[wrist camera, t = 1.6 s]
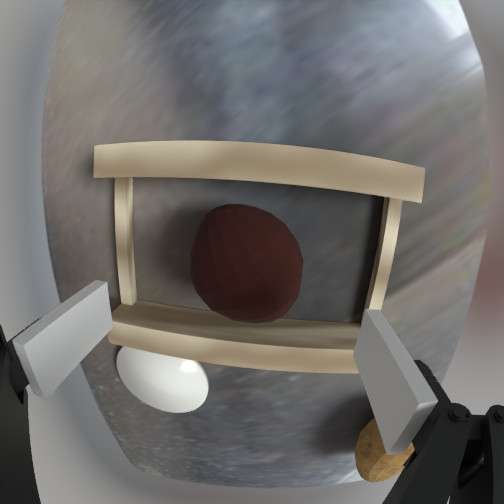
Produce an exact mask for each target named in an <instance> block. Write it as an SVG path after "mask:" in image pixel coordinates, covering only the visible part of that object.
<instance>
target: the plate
mask: <svg viewBox="0 0 504 504" xmlns="http://www.w3.org/2000/svg"><path fill="white" fill-rule="evenodd" d="M117 370H118V373H119V376H120V378H121V380H122V381H123V383H124V384H125V386H126V387H127V388H128V389H129V390H130V392H132V393H133V394H134V395H135V396H136V397H137V398H139V399H140V400H141V401H143V402H144V403H146V404H148V405H150V406H152V407H154V408H157V409H160V410H163V411H167V412H174V413H182V412H189V411H192V410H195V409H196V408H198V407H199V406H201V405H202V404H203V402H204V401H205V399H206V397H207V394H208V390H209V380H208V376H207V374H206V372H205V370H204V368H203V366H202V365H201V364H200V362H199V361H194V360H188V359H183V358H177V357H172V356H166V355H161V354H156V353H152V352H147V351H142V350H138V349H134V348H129V347H125V346H123V347H122V348H121V350H120V351H119V353H118V356H117Z"/></svg>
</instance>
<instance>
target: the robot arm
mask: <svg viewBox="0 0 504 504" xmlns="http://www.w3.org/2000/svg"><path fill="white" fill-rule="evenodd" d="M112 328H113V323H112V316H111V310H110V303H109V295H108V287H107V282H104V281H98V280H95V281H94V282H92V283H91V284H89V285H88V286H86V287H85V288H83V289H82V290H80V291H79V292H77V293H76V294H74V295H73V296H72V297H70V298H69V299H67V300H66V301H64V302H63V303H62V304H60V305H59V306H57V307H56V308H55V309H53V310H52V311H50V312H49V313H48V314H46V315H45V316H43V317H42V318H39V319H37V320H36V321H35V322H33V323H32V324H31V326H30V325H29V326H28V327H26V329H24V330H22V331H21V332H20V333H18V334H17V335H16V336H14V337H13V338H12V339H11V340H9V341H8V342H6V339H5V336H4V333H3V330H2V327H1V325H0V504H41V502H40V498H39V494H38V489H37V484H36V479H35V473H34V467H33V461H32V454H31V445H30V434H29V420H28V393H27V390H26V388H25V387H26V386H27V385H28V384H30V386H31V388H32V391H33V393H34V394H35V395H37V396H39V397H41V398H43V399H45V400H47V398H48V397H49V396H50V395H51V394H52V393H53V392H54V390H55V389H56V388H57V387H58V386H59V385H60V384H61V383H62V381H63V380H64V379H65V378H66V377H67V376H68V375H69V374H70V373H71V371H72V370H73V369H74V368H75V367H76V366H77V365H78V364H79V363H80V362H81V361H82V360H83V358H84V357H85V356H86V355H87V354H88V353H89V352H90V351H91V350H92V349H93V348H94V347H95V346H96V345H97V344H98V342H99V341H100V340H101V339H102V338H103V337H104V336H105V335H106V334H107V333H108V332H109V331H110V330H111V329H112ZM353 358H354V360H355V363H356V366H357V368H358V371H359V374H360V376H361V379H362V382H363V385H364V387H365V390H366V393H367V396H368V399H369V402H370V404H371V407H372V410H373V413H374V416H375V419H376V422H377V425H378V428H379V431H380V434H381V437H382V441H383V444H384V447H385V450H386V453H387V455H390V454H396V453H402V452H405V451H406V450H407V448H408V447H409V445H410V444H411V443H412V444H413V446H414V449H415V450H414V451H413V453H412V454H411V455H410V456H409V458H408V459H407V460H406V462H405V463H404V464H403V465H402V466H405V467H404V469H403V470H402V472H401V474H400V476H399V477H398V479H397V481H396V483H395V484H394V486H393V488H392V489H391V491H390V493H389V494H388V496H387V497H386V499H385V500H384V502H383V503H382V504H447V501H448V499H449V496H450V500H449V504H504V406H501V405H493V406H491V407H490V408H489V410H488V411H487V413H486V415H471V413H470V411H469V410H468V409H467V408H466V407H465V406H463V405H461V404H458V403H451V401H450V400H449V398H448V397H447V395H446V393H445V392H444V390H443V389H442V387H441V385H440V384H439V382H437V379H436V378H435V376H433V373H432V372H431V370H430V369H429V367H428V366H427V365H425V364H424V363H423V362H422V361H420V360H413V359H412V357H411V356H410V354H409V353H408V351H407V350H406V348H405V347H404V345H403V344H402V342H401V341H400V339H399V338H398V336H397V335H396V333H395V332H394V330H393V329H392V327H391V326H390V324H389V323H388V321H387V320H386V319H385V317H384V316H383V314H382V313H381V311H380V310H375V309H365V312H364V316H363V320H362V324H361V328H360V332H359V335H358V339H357V342H356V346H355V349H354V353H353Z"/></svg>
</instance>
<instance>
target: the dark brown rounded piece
mask: <svg viewBox="0 0 504 504" xmlns="http://www.w3.org/2000/svg"><path fill="white" fill-rule="evenodd" d="M302 269H303V258H302V255H301V251H300V248H299V244H298V242H297V240H296V238H295V237H294V236H293V234H292V233H291V232H290V230H289V229H288V228H287V226H286V225H285V224H284V223H283V222H282V221H280V220H279V219H278V218H276V217H275V216H273V215H272V214H271V213H268V212H266V211H264V210H261V209H259V208H256V207H252V206H247V205H242V204H227V205H224V206H220V207H217V208H215V209H213V210H212V211H211V212H210V213H209V214H208V215H207V216H206V217H205V219H204V220H203V222H202V224H201V225H200V227H199V230H198V232H197V235H196V237H195V240H194V244H193V248H192V252H191V266H190V274H191V277H192V280H193V283H194V286H195V289H196V292H197V293H198V294H199V296H200V297H201V298H202V299H203V300H204V302H205V303H206V304H207V305H208V306H209V308H210V309H211V310H212V311H214V312H216V313H219V314H221V315H223V316H225V317H227V318H229V319H231V320H234V321H240V322H247V323H254V324H256V323H265V322H272V321H274V320H276V319H278V318H280V317H282V316H283V315H285V314H286V313H287V312H288V311H289V309H290V308H291V306H292V305H293V304H294V302H295V301H296V299H297V298H298V295H299V291H300V284H301V276H302Z"/></svg>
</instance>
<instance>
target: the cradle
mask: <svg viewBox="0 0 504 504" xmlns="http://www.w3.org/2000/svg"><path fill="white" fill-rule="evenodd" d="M424 176H425V168H421V167H417V166H413V165H409V164H404V163H400V162H395V161H390V160H385V159H380V158H375V157H369V156H364V155H358V154H352V153H345V152H339V151H332V150H324V149H317V148H308V147H299V146H290V145H279V144H266V143H251V142H231V141H152V142H132V143H118V144H106V145H96V146H95V149H94V174H93V178H107V177H115V232H116V251H117V264H118V276H119V285H120V294H121V302H122V304H121V305H119V306H118V307H117V308H116V309H115V310H114V311H113V312H112V313H111V316H112V323H113V328H112V329H111V330H110V331H109V332H108V338H109V343H113V344H117V345H121V346H125V347H129V348H134V349H138V350H142V351H147V352H152V353H156V354H161V355H166V356H172V357H177V358H183V359H188V360H194V361H201V362H207V363H214V364H221V365H229V366H237V367H246V368H255V369H266V370H278V371H293V372H314V373H359V371H358V368H357V366H356V363H355V360H354V358H353V353H354V349H355V346H356V342H357V339H358V335H359V332H360V328H361V324H362V320H363V316H364V312H365V309H375V310H380V311H381V307H382V303H383V300H384V296H385V292H386V288H387V283H388V279H389V275H390V270H391V265H392V261H393V256H394V251H395V245H396V240H397V234H398V228H399V222H400V215H401V208H402V201H403V200H407V201H413V202H418V203H422V195H423V186H424ZM133 177H178V178H208V179H227V180H243V181H257V182H270V183H281V184H292V185H302V186H311V187H320V188H328V189H336V190H344V191H351V192H358V193H365V194H371V195H378V196H384V205H383V213H382V220H381V226H380V233H379V239H378V245H377V250H376V256H375V261H374V266H373V271H372V276H371V280H370V285H369V289H368V294H367V298H366V302H365V306H364V310H363V314H362V318H361V322H360V323H347V322H327V321H311V320H297V319H284V318H278V319H276V320H274V321H272V322H265V323H256V324H254V323H247V322H240V321H234V320H231V319H229V318H227V317H225V316H223V315H221V314H219V313H216V312H214V311H207V310H200V309H192V308H185V307H178V306H171V305H164V304H158V303H152V302H146V301H140V300H137V291H136V279H135V266H134V247H133Z"/></svg>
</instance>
